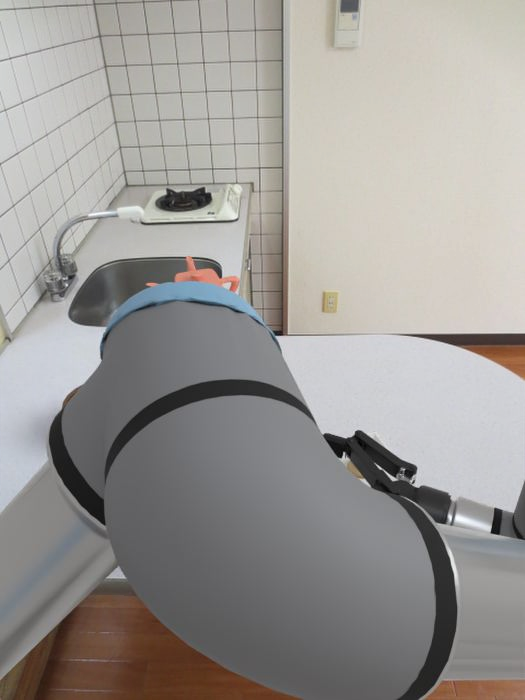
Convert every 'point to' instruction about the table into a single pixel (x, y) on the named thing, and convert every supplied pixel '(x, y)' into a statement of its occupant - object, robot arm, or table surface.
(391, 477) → the dessert
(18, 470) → the table surface
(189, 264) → the pot
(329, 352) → the table surface
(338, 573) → the robot arm
